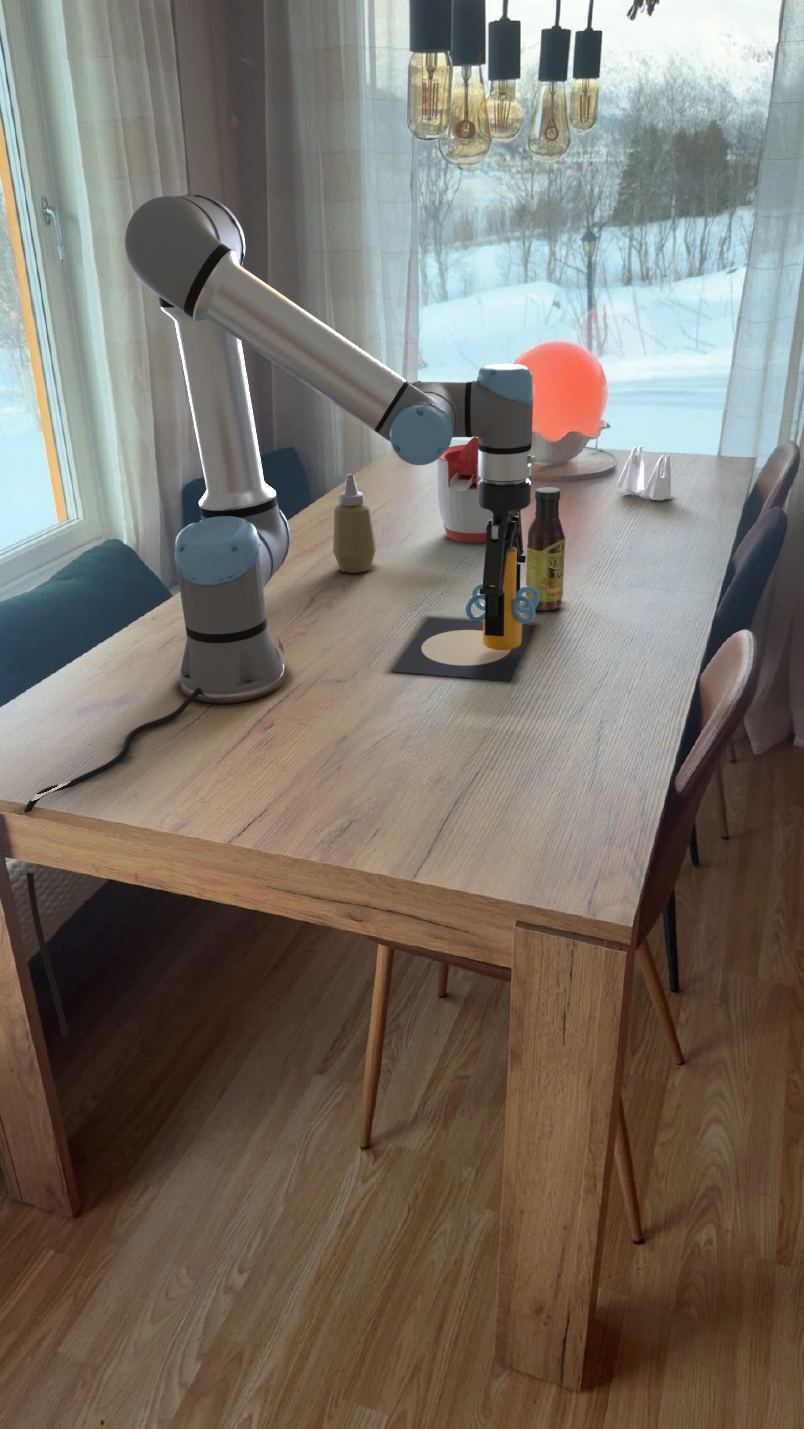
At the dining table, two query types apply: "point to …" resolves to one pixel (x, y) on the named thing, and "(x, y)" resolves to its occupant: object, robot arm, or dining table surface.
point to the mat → (459, 652)
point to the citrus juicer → (461, 493)
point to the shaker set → (634, 477)
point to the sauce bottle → (546, 551)
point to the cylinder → (507, 608)
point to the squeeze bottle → (353, 530)
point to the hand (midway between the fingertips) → (502, 619)
